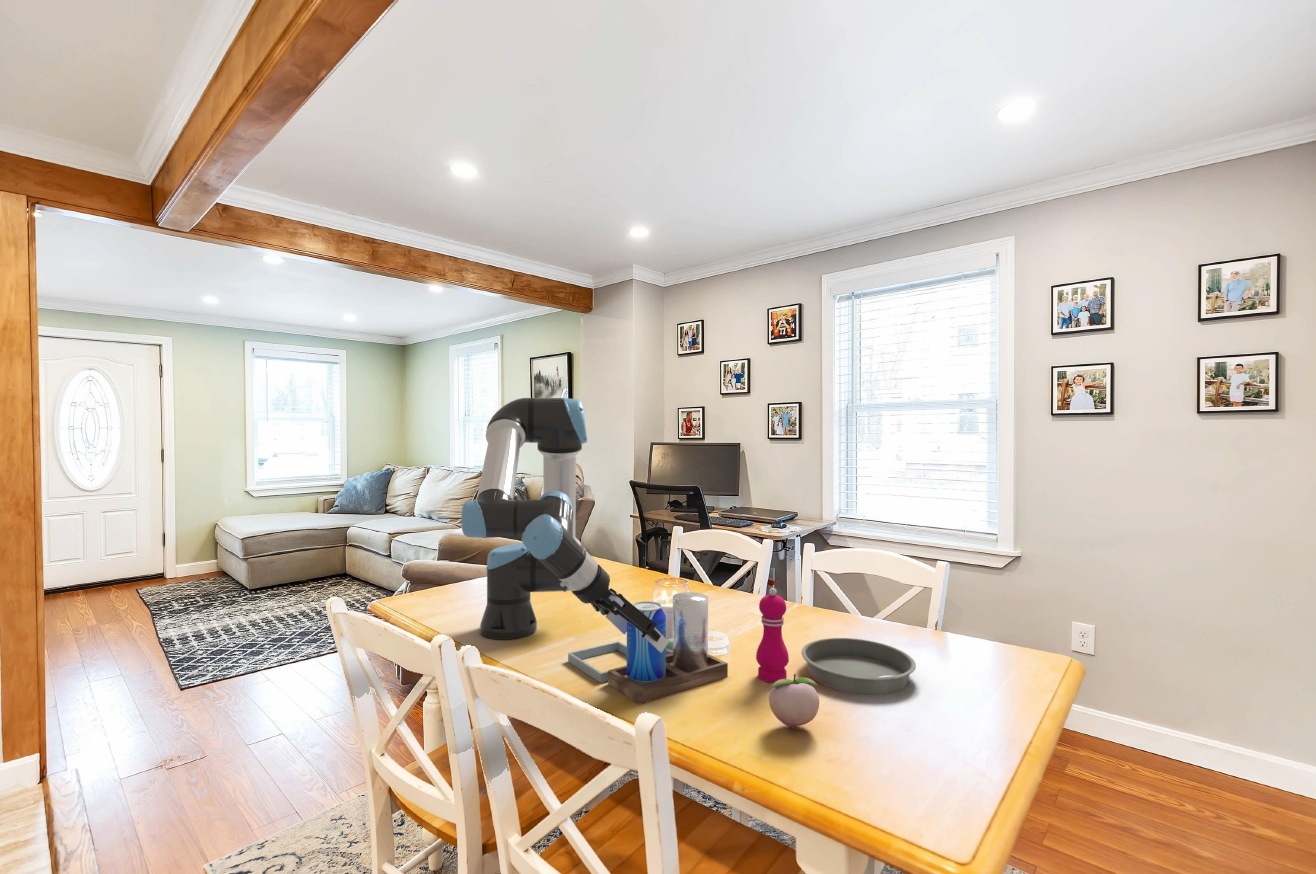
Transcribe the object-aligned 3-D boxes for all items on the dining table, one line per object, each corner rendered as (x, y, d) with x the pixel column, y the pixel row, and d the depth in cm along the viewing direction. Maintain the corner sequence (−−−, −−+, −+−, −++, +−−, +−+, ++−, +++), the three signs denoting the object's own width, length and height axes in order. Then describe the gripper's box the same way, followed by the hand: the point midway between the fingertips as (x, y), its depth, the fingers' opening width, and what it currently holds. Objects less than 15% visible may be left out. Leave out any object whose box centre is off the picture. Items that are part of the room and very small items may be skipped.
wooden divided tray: (608, 684, 131) (608, 670, 131) (693, 660, 145) (693, 647, 145) (639, 704, 121) (639, 689, 121) (727, 676, 136) (727, 663, 136)
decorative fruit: (787, 744, 106) (787, 687, 106) (761, 723, 114) (762, 670, 114) (830, 734, 110) (830, 679, 110) (802, 714, 117) (802, 663, 117)
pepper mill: (791, 674, 137) (792, 586, 137) (784, 686, 131) (785, 593, 130) (760, 668, 140) (761, 582, 140) (752, 680, 134) (752, 590, 134)
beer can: (661, 689, 125) (661, 612, 125) (622, 685, 127) (622, 609, 127) (668, 673, 133) (669, 601, 133) (631, 670, 135) (632, 599, 135)
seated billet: (665, 665, 138) (665, 595, 138) (692, 658, 142) (692, 590, 142) (687, 677, 131) (687, 604, 131) (715, 669, 136) (715, 598, 136)
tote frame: (568, 661, 144) (568, 653, 144) (618, 649, 152) (618, 641, 152) (600, 683, 132) (600, 674, 132) (653, 668, 140) (653, 659, 140)
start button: (663, 656, 147) (663, 640, 147) (675, 653, 149) (675, 637, 149) (672, 661, 144) (672, 644, 144) (684, 657, 146) (684, 641, 146)
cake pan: (795, 688, 130) (795, 667, 130) (807, 650, 153) (807, 632, 153) (919, 707, 122) (919, 684, 121) (912, 663, 145) (912, 644, 145)
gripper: (544, 579, 129) (603, 636, 138) (605, 607, 109) (670, 671, 118) (566, 552, 132) (623, 609, 141) (630, 574, 112) (692, 639, 121)
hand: (645, 637), depth 129 cm, fingers open, 13 cm apart
